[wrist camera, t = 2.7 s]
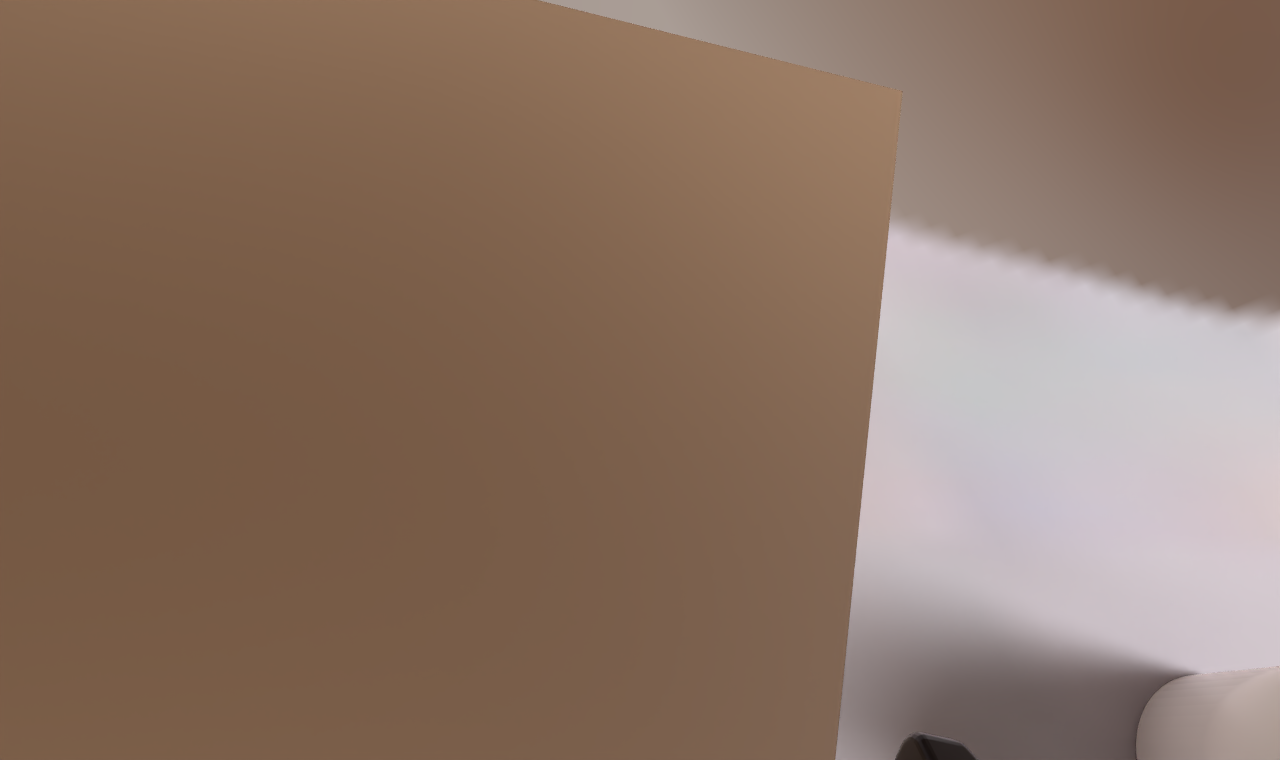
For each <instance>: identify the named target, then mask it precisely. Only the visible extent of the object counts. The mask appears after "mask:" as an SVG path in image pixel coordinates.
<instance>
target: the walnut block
mask: <svg viewBox="0 0 1280 760" xmlns="http://www.w3.org/2000/svg"><path fill="white" fill-rule="evenodd" d="M901 101H902V91H900V90H896V89H891V88H888V87H884V86H879V85H876V84H871V83H868V82H863V81H860V80H855V79H852V78H847V77H844V76H839V75H836V74H832V73H828V72H824V71H819V70H816V69H811V68H808V67H803V66H800V65H795V64H791V63H788V62H784V61H780V60H776V59H772V58H768V57H763V56H759V55H756V54H751V53H747V52H743V51H739V50H735V49H731V48H727V47H723V46H719V45H715V44H711V43H707V42H703V41H699V40H695V39H691V38H687V37H683V36H679V35H675V34H671V33H667V32H663V31H659V30H655V29H651V28H647V27H643V26H639V25H635V24H631V23H627V22H623V21H619V20H615V19H611V18H607V17H603V16H599V15H595V14H591V13H587V12H583V11H579V10H575V9H571V8H567V7H563V6H559V5H555V4H551V3H547V2H543V1H539V0H0V760H835V755H836V745H837V735H838V726H839V716H840V706H841V696H842V686H843V676H844V666H845V656H846V646H847V636H848V626H849V617H850V607H851V597H852V587H853V577H854V567H855V557H856V547H857V537H858V527H859V517H860V508H861V498H862V488H863V478H864V468H865V458H866V448H867V438H868V428H869V418H870V408H871V399H872V389H873V379H874V369H875V359H876V349H877V339H878V329H879V319H880V309H881V299H882V290H883V280H884V270H885V260H886V250H887V240H888V230H889V220H890V210H891V200H892V190H893V181H894V170H895V161H896V150H897V141H898V130H899V121H900V111H901Z"/></svg>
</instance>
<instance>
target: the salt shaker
mask: <svg viewBox="0 0 1280 760" xmlns="http://www.w3.org/2000/svg"><path fill="white" fill-rule="evenodd" d="M1136 755H1137V760H1280V666H1276V667H1266V668H1256V669H1247V670H1237V671H1227V672H1217V673H1207V674H1197V675H1189V676H1184V677H1180V678H1177V679H1175V680H1172V681H1170V682H1168V683H1167V684H1165V685H1163V686H1162V687H1161V688H1160V689H1159V690H1158V691H1156V692H1155V694H1154V695H1153V696H1152V697H1151V698H1150V700H1149V701H1148V703H1147V705H1146V706H1145V708H1144V710H1143V713H1142V715H1141V717H1140V721H1139V725H1138V729H1137V737H1136Z"/></svg>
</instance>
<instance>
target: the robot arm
mask: <svg viewBox="0 0 1280 760" xmlns="http://www.w3.org/2000/svg"><path fill="white" fill-rule="evenodd" d="M895 760H978V759H977V757H976V756H975V755H974V754H973V753H972V752H971V751H970V750H969V749H968V748H967V747H966V746H965V745H964V744H963V743H961V742H959V741H957V740H954V739H951V738H946V737H941V736H936V735H932V734H927V733H922V732H915V733H912V734H910V735H909V736H908V737H907V738H906V739H905V740H904V742H903V743H902V745H901V747H900V749H899V752H898V754H897V756H896V758H895Z"/></svg>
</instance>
